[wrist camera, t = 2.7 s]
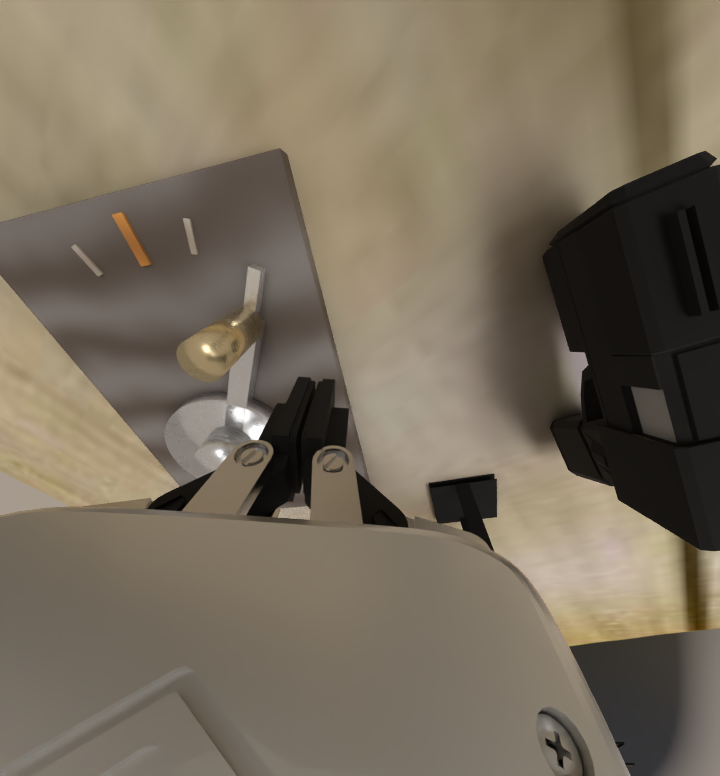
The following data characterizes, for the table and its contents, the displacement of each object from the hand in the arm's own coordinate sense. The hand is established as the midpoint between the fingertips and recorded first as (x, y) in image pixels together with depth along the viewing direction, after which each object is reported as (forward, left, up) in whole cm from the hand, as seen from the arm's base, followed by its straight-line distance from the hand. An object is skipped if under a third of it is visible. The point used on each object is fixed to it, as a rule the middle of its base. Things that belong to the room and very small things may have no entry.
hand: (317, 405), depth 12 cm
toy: (+5, +18, -11) cm, 22 cm away
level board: (+5, -12, -11) cm, 17 cm away
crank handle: (+5, -10, -9) cm, 14 cm away
